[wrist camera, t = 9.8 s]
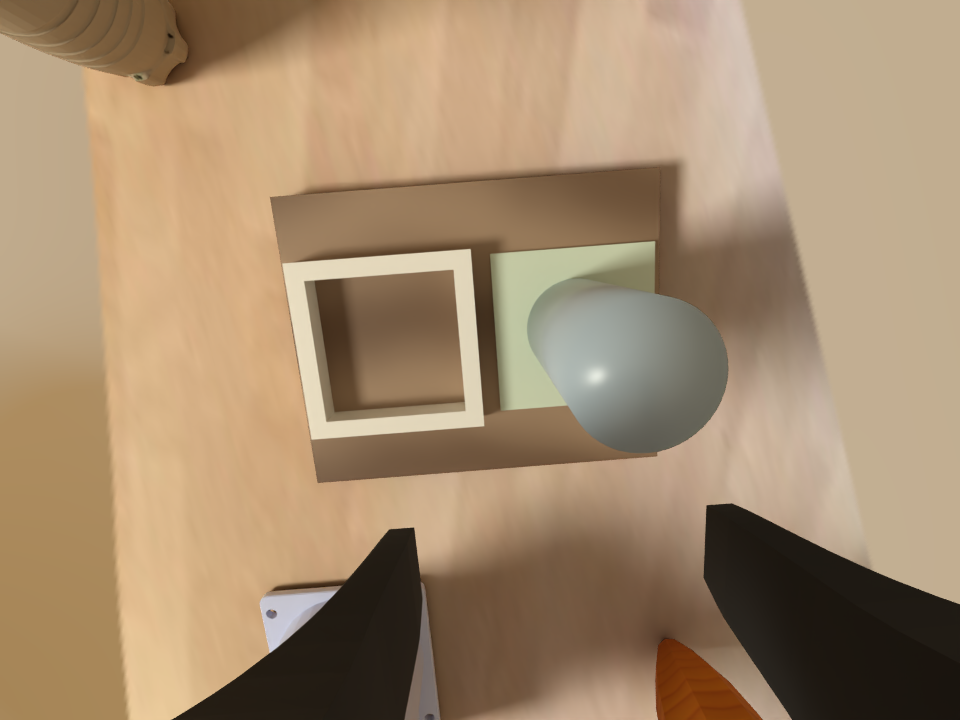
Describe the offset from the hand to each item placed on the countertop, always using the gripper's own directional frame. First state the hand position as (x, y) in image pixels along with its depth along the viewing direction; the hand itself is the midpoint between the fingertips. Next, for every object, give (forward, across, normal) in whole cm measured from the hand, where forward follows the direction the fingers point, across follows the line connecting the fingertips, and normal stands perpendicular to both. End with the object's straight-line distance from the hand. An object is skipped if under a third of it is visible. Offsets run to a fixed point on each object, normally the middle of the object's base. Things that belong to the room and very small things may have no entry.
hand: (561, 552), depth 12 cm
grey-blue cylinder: (+9, -2, -4) cm, 10 cm away
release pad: (+9, -2, -4) cm, 10 cm away
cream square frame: (+9, +5, -4) cm, 11 cm away
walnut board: (+10, +2, -4) cm, 11 cm away
